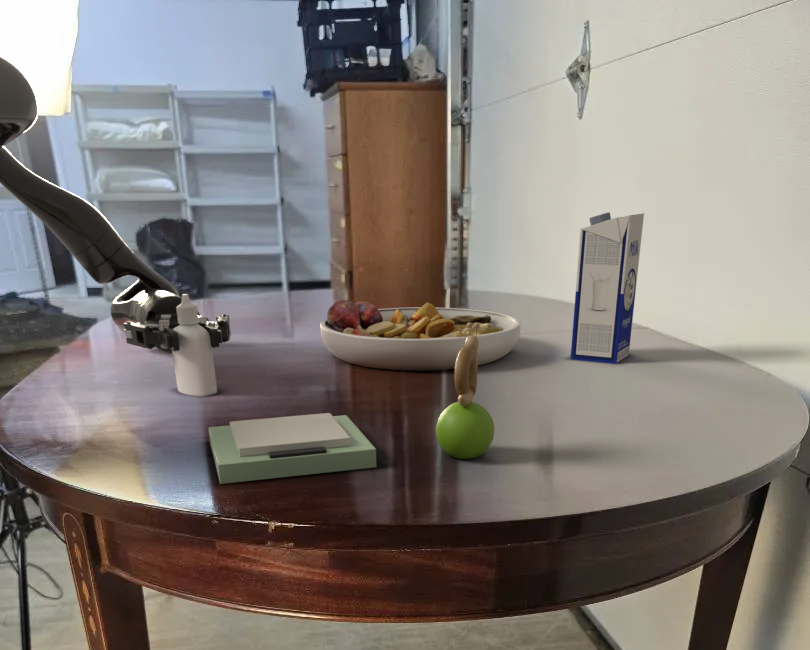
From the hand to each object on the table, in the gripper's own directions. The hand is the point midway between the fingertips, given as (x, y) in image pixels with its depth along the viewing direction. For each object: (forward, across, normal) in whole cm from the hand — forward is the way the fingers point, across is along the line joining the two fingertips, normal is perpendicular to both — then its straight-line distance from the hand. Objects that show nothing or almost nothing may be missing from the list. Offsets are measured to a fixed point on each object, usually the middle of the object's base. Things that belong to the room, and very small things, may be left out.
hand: (196, 340), depth 92 cm
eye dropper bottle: (-3, 0, +7) cm, 8 cm away
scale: (+27, +2, +7) cm, 28 cm away
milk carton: (+5, +57, +7) cm, 58 cm away
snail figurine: (+35, +17, +7) cm, 39 cm away
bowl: (-11, +36, +7) cm, 38 cm away
